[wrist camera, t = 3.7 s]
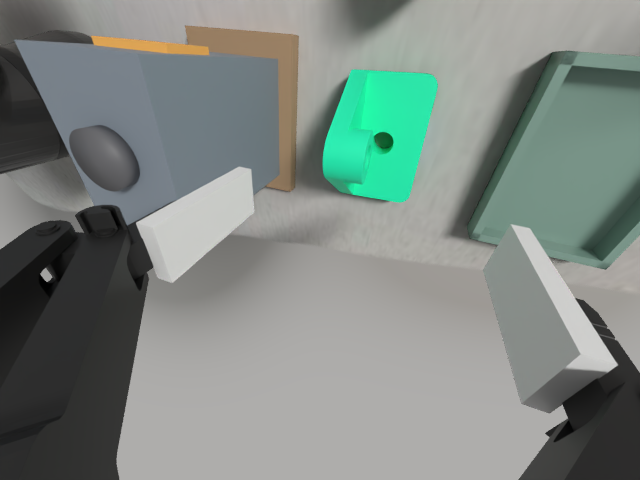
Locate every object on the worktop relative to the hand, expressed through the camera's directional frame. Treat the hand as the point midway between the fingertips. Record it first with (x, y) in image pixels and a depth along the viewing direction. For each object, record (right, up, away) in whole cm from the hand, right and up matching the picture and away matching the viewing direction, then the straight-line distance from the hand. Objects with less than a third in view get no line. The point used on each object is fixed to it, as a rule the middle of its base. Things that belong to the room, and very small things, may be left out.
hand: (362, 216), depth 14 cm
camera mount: (+5, +10, +15) cm, 18 cm away
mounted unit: (-11, +14, +18) cm, 25 cm away
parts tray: (+22, +5, +10) cm, 25 cm away
